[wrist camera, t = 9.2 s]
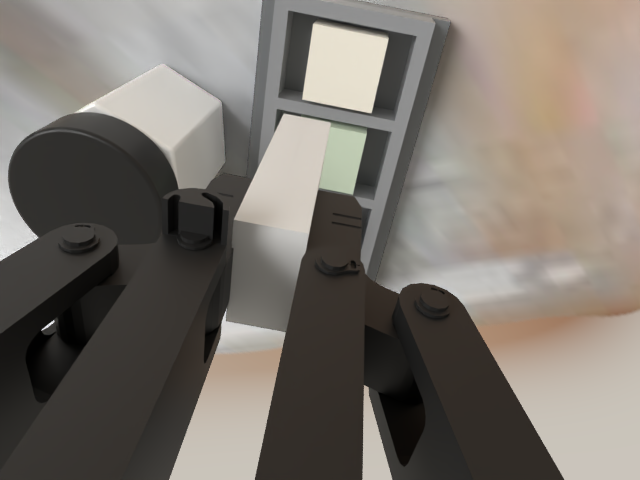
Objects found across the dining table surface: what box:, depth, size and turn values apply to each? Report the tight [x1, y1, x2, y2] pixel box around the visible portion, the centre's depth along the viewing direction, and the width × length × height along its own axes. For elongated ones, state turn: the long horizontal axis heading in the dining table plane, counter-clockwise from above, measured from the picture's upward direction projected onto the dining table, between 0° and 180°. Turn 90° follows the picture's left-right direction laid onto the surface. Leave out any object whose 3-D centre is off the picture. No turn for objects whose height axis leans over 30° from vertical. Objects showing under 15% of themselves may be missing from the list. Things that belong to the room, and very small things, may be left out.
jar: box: [8, 64, 226, 245], centre depth 29 cm, size 9×8×12 cm
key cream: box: [302, 19, 389, 113], centre depth 28 cm, size 4×4×2 cm
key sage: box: [301, 114, 367, 195], centre depth 31 cm, size 4×4×2 cm
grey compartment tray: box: [246, 0, 451, 282], centre depth 33 cm, size 11×23×4 cm, turn 170°
